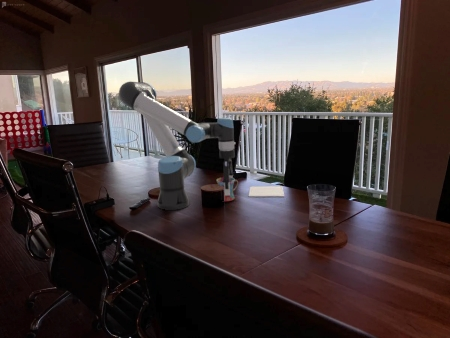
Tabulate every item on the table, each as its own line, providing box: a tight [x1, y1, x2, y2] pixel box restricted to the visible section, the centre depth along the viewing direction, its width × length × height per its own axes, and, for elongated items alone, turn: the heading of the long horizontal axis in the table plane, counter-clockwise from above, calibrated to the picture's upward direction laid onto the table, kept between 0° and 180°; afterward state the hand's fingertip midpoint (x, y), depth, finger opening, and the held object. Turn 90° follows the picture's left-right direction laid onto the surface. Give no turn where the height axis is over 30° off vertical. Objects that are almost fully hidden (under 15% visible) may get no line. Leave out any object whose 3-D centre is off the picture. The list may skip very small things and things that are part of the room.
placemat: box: [248, 185, 285, 198], centre depth 173 cm, size 18×18×1 cm
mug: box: [216, 177, 239, 202], centre depth 162 cm, size 12×9×11 cm
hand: (229, 191), depth 162 cm, fingers open, 13 cm apart
